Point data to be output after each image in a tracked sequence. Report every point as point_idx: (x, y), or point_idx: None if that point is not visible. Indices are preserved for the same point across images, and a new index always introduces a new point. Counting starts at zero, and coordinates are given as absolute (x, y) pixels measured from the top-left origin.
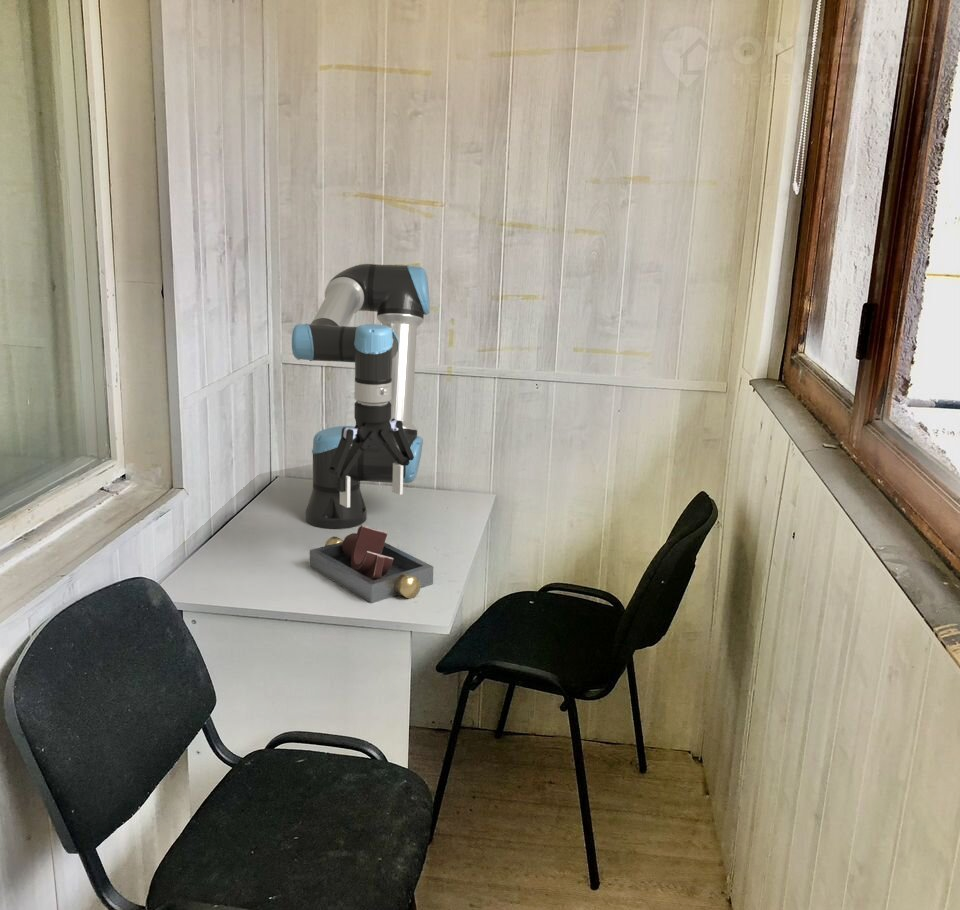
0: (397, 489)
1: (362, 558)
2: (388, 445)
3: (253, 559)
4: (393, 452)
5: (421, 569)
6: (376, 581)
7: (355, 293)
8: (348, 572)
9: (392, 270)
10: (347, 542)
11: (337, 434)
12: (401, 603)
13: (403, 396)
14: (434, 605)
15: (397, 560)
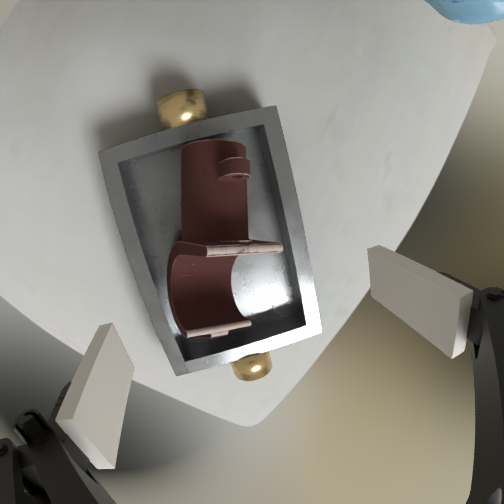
0: (380, 289)
1: (195, 260)
2: (468, 499)
3: (33, 88)
4: (477, 424)
5: (294, 339)
6: (189, 366)
7: None
8: (147, 308)
9: None
10: (185, 176)
11: None
12: (224, 368)
13: None
14: (270, 384)
15: (285, 238)
